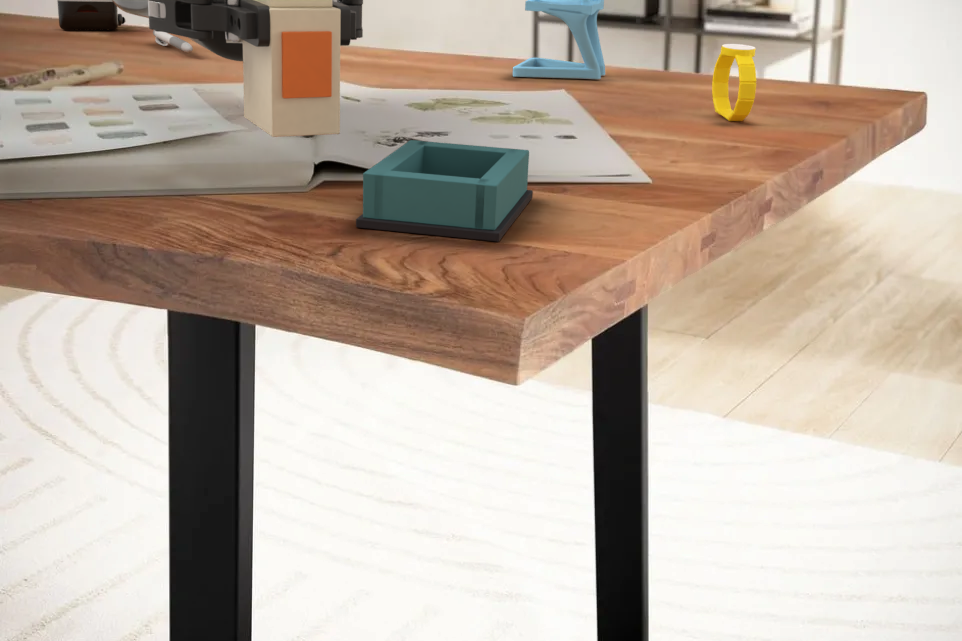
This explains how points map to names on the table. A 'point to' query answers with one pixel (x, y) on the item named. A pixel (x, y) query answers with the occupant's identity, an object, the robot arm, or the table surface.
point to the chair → (578, 10)
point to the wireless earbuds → (89, 15)
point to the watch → (746, 80)
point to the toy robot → (295, 70)
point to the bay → (446, 190)
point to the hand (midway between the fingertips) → (305, 26)
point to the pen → (172, 41)
